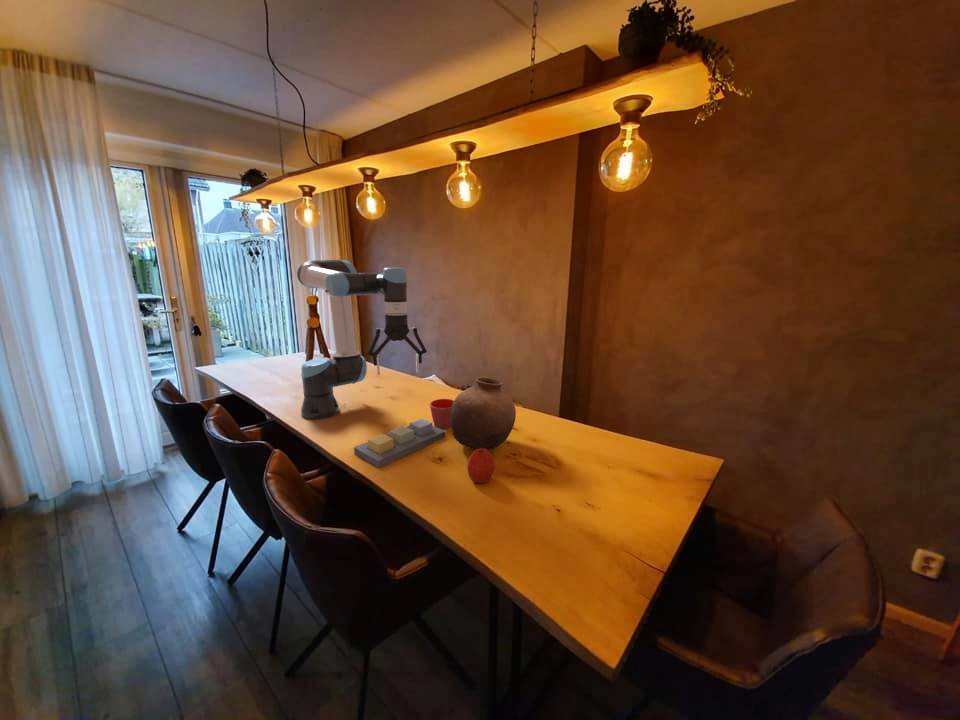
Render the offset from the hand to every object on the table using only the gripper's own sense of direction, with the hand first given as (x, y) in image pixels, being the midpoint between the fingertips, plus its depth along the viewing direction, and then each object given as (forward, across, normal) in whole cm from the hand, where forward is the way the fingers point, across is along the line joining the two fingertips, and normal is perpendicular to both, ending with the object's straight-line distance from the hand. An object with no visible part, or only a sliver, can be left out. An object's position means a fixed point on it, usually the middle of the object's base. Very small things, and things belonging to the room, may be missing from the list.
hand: (398, 373), depth 136 cm
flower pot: (+26, +18, +8) cm, 32 cm away
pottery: (+26, +28, -13) cm, 40 cm away
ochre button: (+23, -7, -11) cm, 27 cm away
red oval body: (+25, +22, -34) cm, 48 cm away
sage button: (+23, 0, -6) cm, 24 cm away
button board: (+25, 0, -6) cm, 26 cm away
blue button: (+23, +8, 0) cm, 25 cm away
